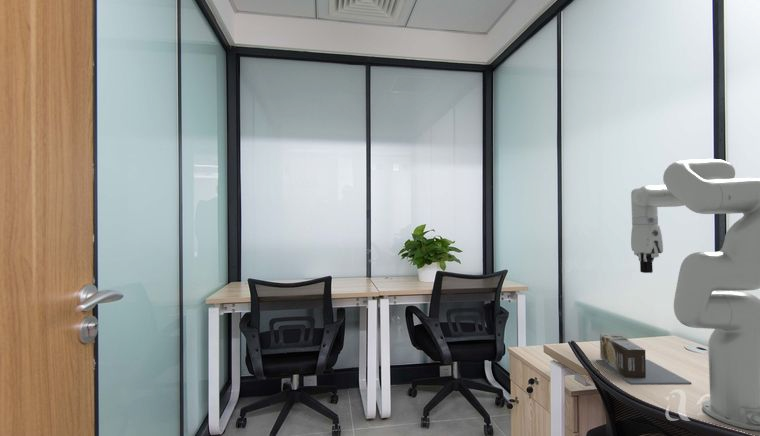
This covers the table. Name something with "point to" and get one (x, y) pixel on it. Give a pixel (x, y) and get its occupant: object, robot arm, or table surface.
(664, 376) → the rubber mat
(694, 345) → the table surface
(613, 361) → the coffee box
